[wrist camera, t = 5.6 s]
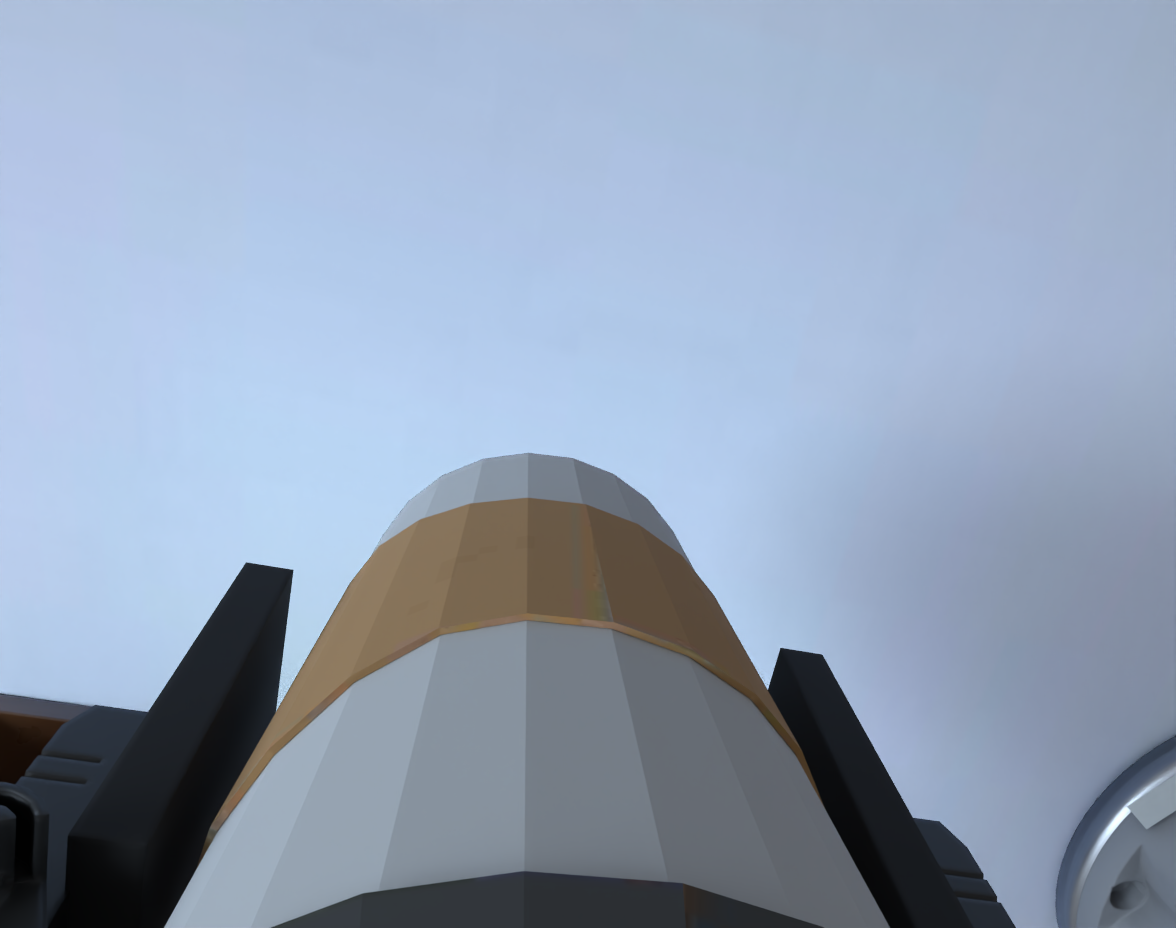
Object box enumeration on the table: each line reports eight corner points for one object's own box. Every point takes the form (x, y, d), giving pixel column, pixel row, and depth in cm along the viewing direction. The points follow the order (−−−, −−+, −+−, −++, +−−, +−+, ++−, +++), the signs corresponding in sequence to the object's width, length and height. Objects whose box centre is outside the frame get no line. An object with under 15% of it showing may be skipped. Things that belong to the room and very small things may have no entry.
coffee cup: (600, 825, 22) (731, 2099, 8) (250, 665, 20) (-412, 1931, 6) (812, 520, 20) (1521, 1497, 6) (443, 312, 18) (131, 970, 4)
